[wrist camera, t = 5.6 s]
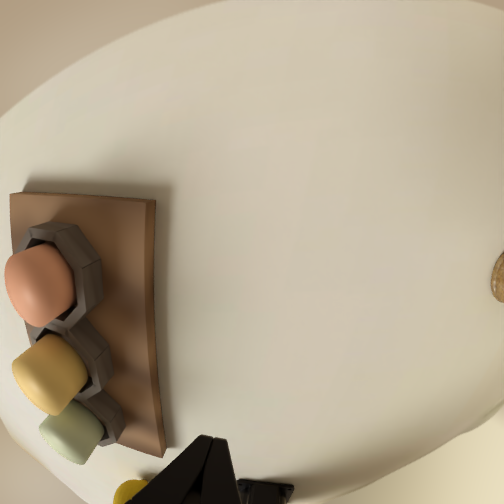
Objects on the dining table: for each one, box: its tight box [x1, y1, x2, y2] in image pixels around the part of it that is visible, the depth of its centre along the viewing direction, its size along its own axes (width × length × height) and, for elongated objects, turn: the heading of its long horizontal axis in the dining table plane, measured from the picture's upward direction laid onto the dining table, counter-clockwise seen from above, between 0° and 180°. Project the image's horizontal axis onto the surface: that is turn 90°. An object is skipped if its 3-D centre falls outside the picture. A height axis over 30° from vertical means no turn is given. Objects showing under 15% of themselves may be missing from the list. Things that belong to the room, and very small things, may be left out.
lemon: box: [113, 479, 148, 504], centre depth 24 cm, size 6×6×8 cm
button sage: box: [39, 400, 104, 465], centre depth 19 cm, size 5×5×4 cm
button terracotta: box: [5, 241, 77, 327], centre depth 16 cm, size 5×5×4 cm
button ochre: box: [12, 334, 88, 416], centre depth 17 cm, size 5×5×4 cm
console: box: [10, 192, 167, 458], centre depth 20 cm, size 25×14×4 cm, turn 174°
